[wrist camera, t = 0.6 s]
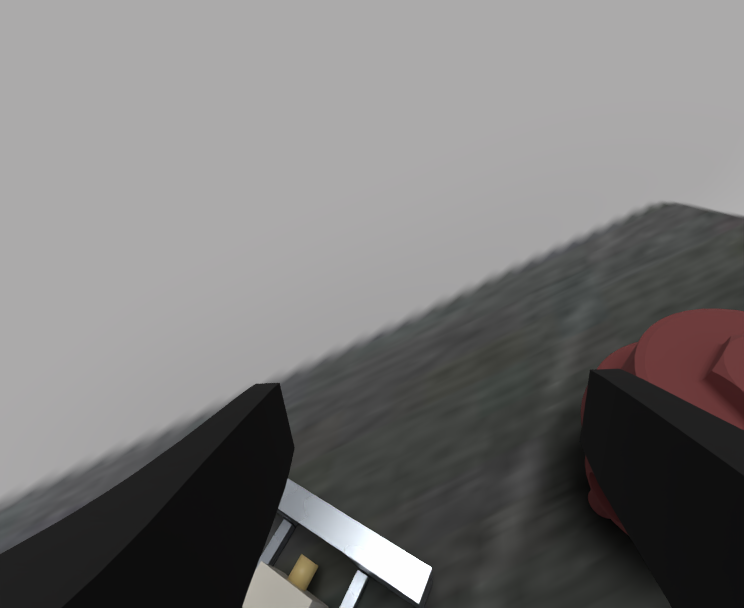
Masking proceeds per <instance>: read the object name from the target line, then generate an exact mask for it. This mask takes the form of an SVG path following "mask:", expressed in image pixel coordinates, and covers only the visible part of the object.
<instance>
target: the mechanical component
mask: <svg viewBox="0 0 744 608" xmlns="http://www.w3.org/2000/svg"><path fill="white" fill-rule="evenodd" d="M597 369H622V370H624V371H626V372H629V373H631V374H633V375H635V376H637V377H639V378H642V379H644V380H646V381H648V382H650V383H652V384H654V385H656V386H658V387H660V388H662V389H664V390H666V391H668V392H669V393H671V394H673V395H675V396H677V397H679V398H681V399H683V400H685V401H687V402H689V403H691V404H693V405H695V406H697V407H699V408H701V409H703V410H705V411H707V412H709V413H711V414H712V415H714V416H716V417H718V418H720V419H722V420H724V421H726V422H728V423H730V424H732V425H734V426H736V427H738V428H740V429H742V430H744V311H739V310H728V309H697V310H689V311H684V312H680V313H676V314H672V315H670V316H668V317H665V318H663V319H661V320H659V321H658V322H656V323H655V324H653V325H652V326H650V328H649V329H648V330H647V331H646V332H645V333H644V334H643V335H642V337H641V338H640V340H639V341H638V342H636V343H632V344H630V345H627V346H625V347H622V348H620V349H618V350H617V351H615V352H614V353H612V354H610V355H609V356H608V357H607V358H606V359H605V360H604V361H603V362H602V363H601V364H600V365H599V367H598V368H597ZM587 388H588V385H587V387H586V390H585V393H584V396H583V398H582V405H581V425H582V423H583V416H584V409H585V402H586V395H587ZM585 469H586V476H587V479H588V482H589V485H590V488H591V490H590V492H589V493H588V501H589V504H590V506H591V507H592V509H593V510H594V511H595V512H596V513H597V514H598V515H600V516H602V517H604V518H608V519H611V520H612V521H613V522H614V523H615V524H616V525H617V526H618V527H619V528H620V529H622V530H623V531H624V532H625V533H626V534H627V535H628V533H627V532H626V530H625V528H624V527H623V525H622V523H621V522H620V520H619V518H618V517H617V515H616V513H615V512H614V510H613V508H612V506H611V505H610V503H609V501H608V500H607V498H606V496H605V495H604V493H603V491H602V489H601V488H600V486H599V484H598V482H597V480H596V477H595V475H594V473H593V471H592V469H591V467H590V464H589V462H588V460H587V457H586V455H585Z"/></svg>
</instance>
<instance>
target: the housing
mask: <svg viewBox="0 0 744 608" xmlns="http://www.w3.org/2000/svg"><path fill="white" fill-rule="evenodd" d="M277 513H278V514H280V515H281V516H283V517H284V518H286V519H287V520H288V521H290V522H291V523H293V524H294V525H296V526H297V524H298V523H300V524H301V525H302V526H304V527H305V528H307V529H308V530H310V531H311V532H313V533H314V534H316V535H317V536H319V537H320V538H322V539H323V540H325V541H326V542H328V543H329V544H331V545H332V546H334V547H335V548H336V549H338V550H339V551H341V552H342V553H344V554H345V555H347V556H348V557H349V558H350V559H351V560H352V561H353V562H354V563H355V564H356V565H357V566H358V567H359V569H360V570H362V571H363V572H365V573H366V574H367V575H369V576H370V577H372V578H373V579H375V580H376V581H378V582H379V583H381V584H382V585H384V586H385V587H387V588H388V589H389V590H391V591H392V592H394V593H395V594H397V595H398V596H400V597H401V598H403V599H404V600H406V601H407V602H408V603H410V604H411V605H413V606H414V607H416V608H424V606H425V603H426V600H427V598H428V595H429V592H430V589H431V586H432V584H433V576H432V568H431V567H430V566H428V565H426V564H425V563H423V562H421V561H420V560H418V559H417V558H415V557H413V556H412V555H410V554H409V553H407V552H405V551H404V550H402V549H401V548H399V547H397V546H396V545H394V544H392V543H391V542H389V541H388V540H386V539H384V538H383V537H381V536H380V535H378V534H376V533H375V532H373V531H372V530H370V529H368V528H367V527H365V526H364V525H362V524H360V523H359V522H357V521H355V520H354V519H352V518H351V517H349V516H347V515H346V514H344V513H343V512H341V511H339V510H338V509H336V508H335V507H333V506H331V505H330V504H328V503H326V502H325V501H323V500H322V499H320V498H318V497H317V496H315V495H314V494H312V493H310V492H309V491H307V490H306V489H304V488H302V487H301V486H299V485H297V484H296V483H294V482H293V481H291V480H289V479H287V483H286V487H285V490H284V493H283V496H282V499H281V502H280V504H279V507H278V510H277ZM294 530H295V527H294V526H293V525H292V524H290V523H289V522H287V521H286V520H285V519H284V520H283V522H282V523H281V525H280V526H279V528H278V530H277V531H276V533H275V535H274V536H273V538H272V539H271V541H270V543H269V544H268V546H267V547H266V549H265V551H264V552H263V554H262V556H261V557H260V559H259V561H258V564H257V567H258V565H259V564H260V562H261V561H263V562H265V563H266V564H268V565H270V566H272V567H273V565H274V563H275V562H276V560H277V558H278V557H279V555H280V553H281V551H282V550H283V548H284V546H285V545H286V543H287V541H288V540H289V538H290V536H291V535H292V533H293V531H294ZM257 567H256V569H257ZM368 580H369V577H368V576H366V575H365V574H363V573H362V572H360V571H359V570H357V572H356V574H355V576H354V579H353V581H352V583H351V585H350V587H349V589H348V591H347V593H346V596H345V598H344V600H343V602H342V604H341V606H340V608H356V607H357V605H358V603H359V600H360V598H361V596H362V594H363V591H364V589H365V587H366V585H367V582H368ZM242 608H243V607H242Z"/></svg>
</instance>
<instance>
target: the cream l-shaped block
mask: <svg viewBox="0 0 744 608" xmlns="http://www.w3.org/2000/svg"><path fill="white" fill-rule="evenodd" d="M317 568H318V566H317V565H316V564H315V563H313V562H312V561H311V560H309V559H308V558H306V557H305V556H304V555H302V554H301V555H300V557H299V559H298V561H297V563H296V564H295V566H294V568H293V570H292V571H291V573H290V575H289V576H288V575H286V574H285V573H284V572H282V571H280V570H278V569H276V568H274V567H272V566H270V565H268V564H266V563H265V562H263V561H261V562H260V564H259V565H258V567H257V569H256V570H255V572H254V575H253V578H252V580H251V583H250V586H249V589H248V591H247V594H246V597H245V600H244V603H243V606H242V607H243V608H329V607H328V606H327V605H326V604H324V603H323V602H322V601H320V600H319V599H318V598H316V597H315V596H314V595H313V594H311V593H310V592H309V591H307V590H306V589H307V587H308V585H309V583H310V581H311V579H312V578H313V576H314V574H315V572H316V570H317Z"/></svg>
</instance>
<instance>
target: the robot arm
mask: <svg viewBox="0 0 744 608" xmlns="http://www.w3.org/2000/svg"><path fill="white" fill-rule="evenodd" d="M580 443H581V446H582V448H583V450H584V453H585V455H586V457H587V460H588V462H589V464H590V467H591V469H592V471H593V473H594V475H595V477H596V480H597V482H598V484H599V486H600V488H601V489H602V491H603V493H604V495H605V496H606V498H607V500H608V501H609V503H610V505H611V506H612V508H613V510H614V512H615V513H616V515H617V517H618V518H619V520H620V522H621V523H622V525H623V527H624V528H625V530H626V532H627V533H628V535H629V537H630V538H631V540H632V542H633V543H634V545H635V547H636V548H637V550H638V551H639V553H640V555H641V556H642V558H643V560H644V561H645V563H646V565H647V566H648V568H649V570H650V571H651V573H652V575H653V576H654V578H655V580H656V581H657V583H658V585H659V586H660V588H661V590H662V591H663V593H664V595H665V596H666V598H667V600H668V601H669V603H670V605H671V607H672V608H744V430H742V429H740V428H738V427H736V426H734V425H732V424H730V423H728V422H726V421H724V420H722V419H720V418H718V417H716V416H714V415H712V414H711V413H709V412H707V411H705V410H703V409H701V408H699V407H697V406H695V405H693V404H691V403H689V402H687V401H685V400H683V399H681V398H679V397H677V396H675V395H673V394H671V393H669V392H668V391H666V390H664V389H662V388H660V387H658V386H656V385H654V384H652V383H650V382H648V381H646V380H644V379H642V378H639V377H637V376H635V375H633V374H631V373H629V372H626V371H624V370H622V369H596V370H590V374H589V381H588V388H587V395H586V402H585V409H584V416H583V423H582V430H581V437H580ZM293 453H294V444H293V439H292V435H291V431H290V426H289V422H288V418H287V413H286V409H285V405H284V400H283V396H282V392H281V387H280V383H265V384H255V385H253V386H252V387H250V388H249V389H247V390H246V391H245V392H243V393H242V394H241V395H239V396H238V397H237V398H235V399H234V400H233V401H231V402H230V403H229V404H227V405H226V406H225V407H224V408H222V409H221V410H220V411H218V412H217V413H216V414H215V415H213V416H212V417H211V418H209V419H208V420H207V421H205V422H204V423H203V424H202V425H200V426H199V427H198V428H196V429H195V430H194V431H192V432H191V433H190V434H189V435H187V436H186V437H185V438H183V439H182V440H181V441H179V442H178V443H176V444H175V445H174V446H172V447H171V448H169V449H168V450H167V451H165V452H164V453H162V454H161V455H160V456H158V457H157V458H156V459H154V460H153V461H151V462H150V463H149V464H147V465H146V466H144V467H143V468H142V469H140V470H139V471H137V472H136V473H135V474H133V475H132V476H130V477H129V478H127V479H126V480H124V481H123V482H121V483H120V484H118V485H117V486H115V487H114V488H112V489H110V490H109V491H107V492H106V493H104V494H103V495H101V496H99V497H98V498H96V499H95V500H93V501H91V502H90V503H88V504H87V505H85V506H83V507H82V508H80V509H79V510H77V511H75V512H74V513H72V514H70V515H69V516H67V517H65V518H64V519H62V520H60V521H59V522H57V523H55V524H53V525H52V526H50V527H48V528H46V529H45V530H43V531H41V532H39V533H37V534H36V535H34V536H32V537H30V538H29V539H27V540H25V541H23V542H21V543H20V544H18V545H16V546H14V547H12V548H11V549H9V550H7V551H5V552H4V553H2V554H0V608H242V606H243V603H244V600H245V597H246V594H247V591H248V589H249V586H250V583H251V580H252V578H253V575H254V572H255V570H256V567H257V564H258V561H259V559H260V556H261V553H262V551H263V548H264V545H265V543H266V540H267V537H268V534H269V532H270V529H271V526H272V524H273V521H274V518H275V515H276V513H277V510H278V507H279V504H280V502H281V499H282V496H283V493H284V490H285V487H286V483H287V479H288V475H289V471H290V466H291V462H292V457H293Z"/></svg>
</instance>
